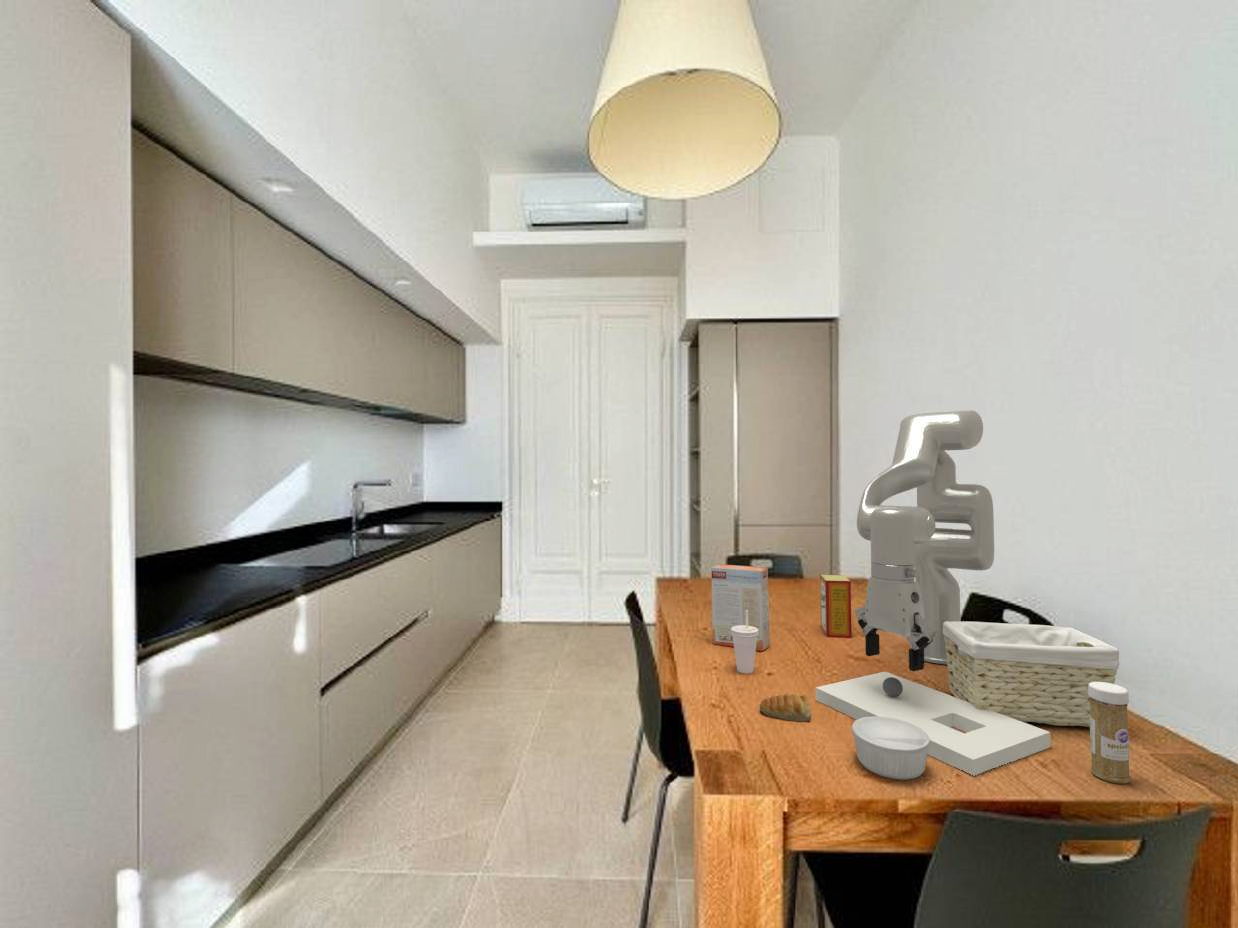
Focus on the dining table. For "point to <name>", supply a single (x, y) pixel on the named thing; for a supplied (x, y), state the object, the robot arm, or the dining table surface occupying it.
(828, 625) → the baking soda box
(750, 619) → the cracker box
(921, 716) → the board
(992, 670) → the storage basket
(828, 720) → the dining table surface
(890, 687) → the ball
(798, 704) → the pastry
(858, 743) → the ramekin
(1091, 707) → the sprinkles bottle
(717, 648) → the dining table surface
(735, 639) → the smoothie
